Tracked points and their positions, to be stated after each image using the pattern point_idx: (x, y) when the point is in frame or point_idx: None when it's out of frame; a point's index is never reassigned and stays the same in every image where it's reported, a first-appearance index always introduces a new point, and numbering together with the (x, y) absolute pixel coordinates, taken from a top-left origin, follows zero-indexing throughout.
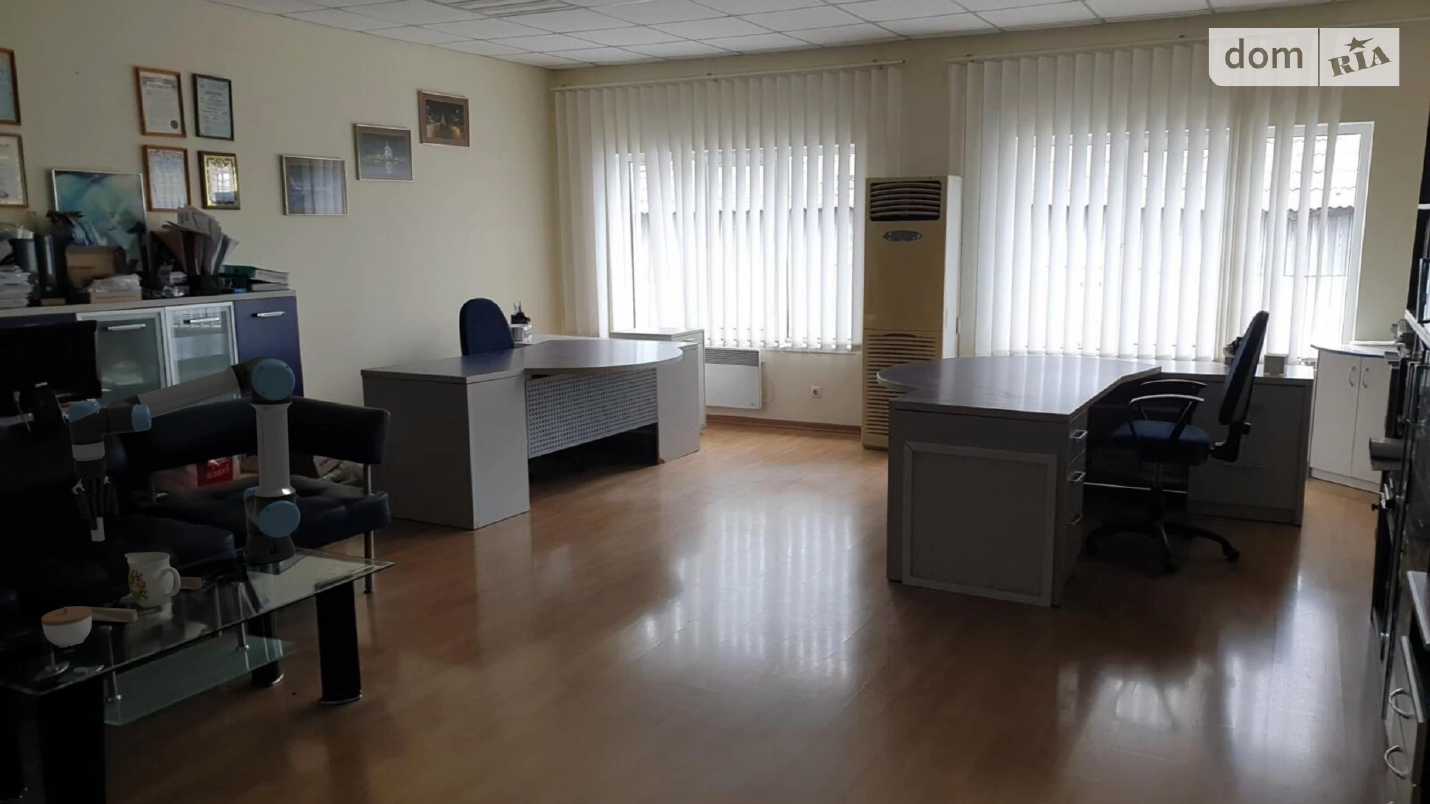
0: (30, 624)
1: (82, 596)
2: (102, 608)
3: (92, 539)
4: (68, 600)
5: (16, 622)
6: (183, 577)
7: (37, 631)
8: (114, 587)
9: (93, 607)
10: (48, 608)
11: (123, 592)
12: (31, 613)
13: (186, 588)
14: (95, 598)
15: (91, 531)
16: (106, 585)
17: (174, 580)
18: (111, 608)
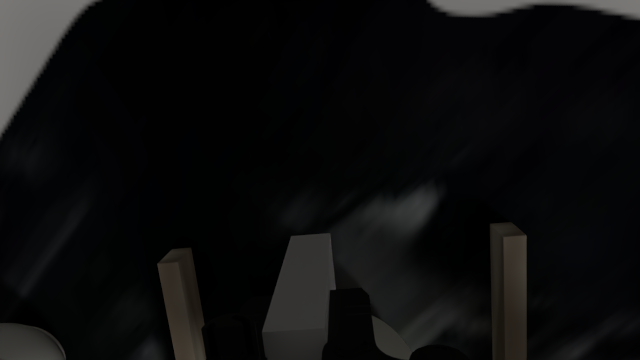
0: (82, 110)
1: (346, 39)
2: (181, 324)
3: (291, 241)
4: (297, 24)
5: (76, 41)
6: (519, 355)
7: (51, 190)
8: (460, 77)
9: (178, 288)
10: (211, 26)
11: (418, 161)
12: (154, 10)
13: (492, 350)
14: (340, 111)
15: (282, 267)
16: (476, 21)
17: (501, 325)
18: (191, 351)
